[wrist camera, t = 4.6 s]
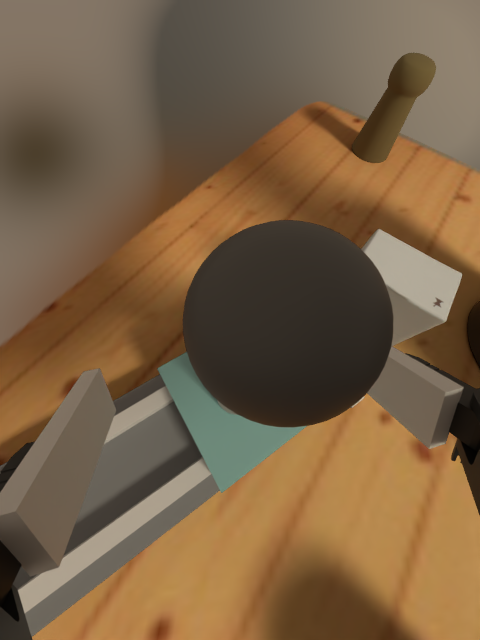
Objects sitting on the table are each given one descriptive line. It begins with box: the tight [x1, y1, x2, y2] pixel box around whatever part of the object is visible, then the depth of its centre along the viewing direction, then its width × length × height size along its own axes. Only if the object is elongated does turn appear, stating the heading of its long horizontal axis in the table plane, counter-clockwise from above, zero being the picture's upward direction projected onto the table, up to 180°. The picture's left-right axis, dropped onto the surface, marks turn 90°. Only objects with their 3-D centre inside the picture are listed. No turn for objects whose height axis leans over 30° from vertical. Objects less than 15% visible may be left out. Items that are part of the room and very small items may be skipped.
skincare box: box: [361, 229, 462, 346], centre depth 20 cm, size 6×4×12 cm
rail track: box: [0, 375, 365, 637], centre depth 17 cm, size 26×10×7 cm, turn 123°
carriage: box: [157, 220, 393, 493], centre depth 11 cm, size 8×9×17 cm
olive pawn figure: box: [352, 53, 436, 163], centre depth 34 cm, size 6×6×11 cm
